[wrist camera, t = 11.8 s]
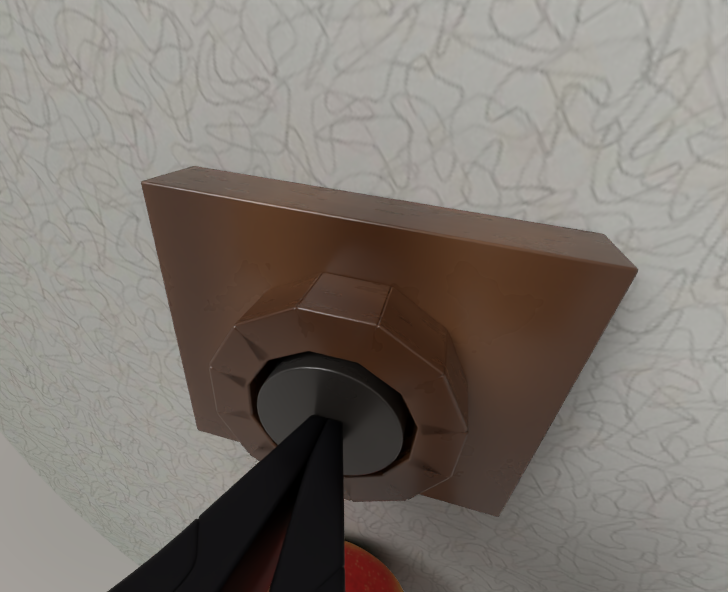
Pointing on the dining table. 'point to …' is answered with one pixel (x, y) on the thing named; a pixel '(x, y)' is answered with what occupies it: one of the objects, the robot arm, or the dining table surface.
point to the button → (336, 407)
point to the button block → (384, 318)
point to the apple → (367, 572)
